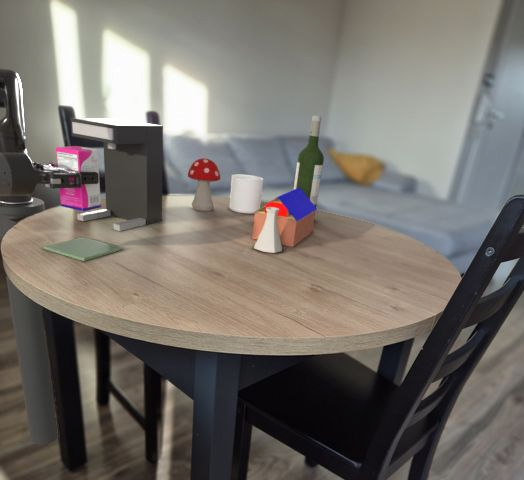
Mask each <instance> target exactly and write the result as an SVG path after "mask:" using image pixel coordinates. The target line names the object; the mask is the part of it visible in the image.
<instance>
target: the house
mask: <svg viewBox="0 0 524 480" xmlns="http://www.w3.org/2000/svg"><path fill="white" fill-rule="evenodd" d="M267 207H274V208H278V209H279V212H278V213H277V226H278V231H279V236H280V241H281V246H286V247H292V248H293V247H295V246H296V245H298V244H299V243H300V242H302V240H304V239H305V238H307V237H308V236H309V235H310V234H311V233H313V228H314V222H315V219H314V217H315V218H316V212H315V211H317V209H318V208H317V206H316V207H315V206H314V204H313V203H312V202H311V201H310V200H309V198H308V197H307V196H306V195H305V193H304V192H303V191H302V190H301V188H300V187H299V188H297V189H295V190H294V189H293V190H290V191H288V192H285V193H283V194H281V195H279V196H276V197H275V198H274V199H272V200H270V201H269V202H267V203H266V204H264V205H263V206H260V209H258V210H257V211H255V212H254V213H253V214H254V217H253V228H252V236H251V237H252V238H251V239H253V240H257V239H258V237H259V235H260V233H261V231H262V228H263V226H264V224H265V220H266V217H267V211H266V208H267Z"/></svg>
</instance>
